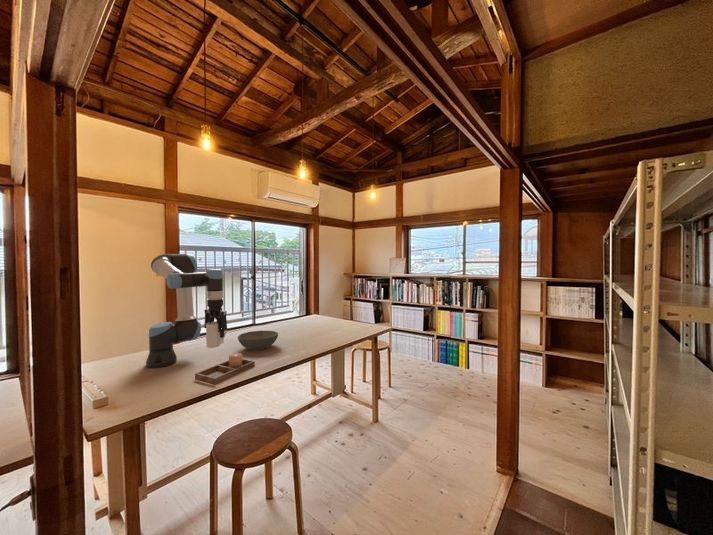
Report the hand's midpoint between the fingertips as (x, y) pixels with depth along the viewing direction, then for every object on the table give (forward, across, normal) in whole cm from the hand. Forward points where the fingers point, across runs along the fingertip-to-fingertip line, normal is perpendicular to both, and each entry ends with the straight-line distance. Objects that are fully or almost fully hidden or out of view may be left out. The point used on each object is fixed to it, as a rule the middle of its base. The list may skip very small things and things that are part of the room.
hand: (215, 342), depth 153 cm
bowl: (+18, -15, +46) cm, 52 cm away
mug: (+2, 0, 0) cm, 2 cm away
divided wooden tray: (+18, 0, +6) cm, 19 cm away
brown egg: (+18, 0, +13) cm, 22 cm away
